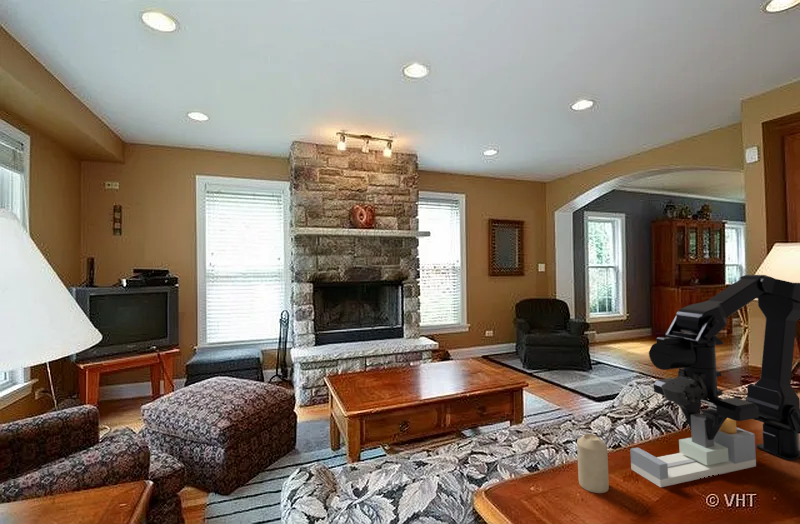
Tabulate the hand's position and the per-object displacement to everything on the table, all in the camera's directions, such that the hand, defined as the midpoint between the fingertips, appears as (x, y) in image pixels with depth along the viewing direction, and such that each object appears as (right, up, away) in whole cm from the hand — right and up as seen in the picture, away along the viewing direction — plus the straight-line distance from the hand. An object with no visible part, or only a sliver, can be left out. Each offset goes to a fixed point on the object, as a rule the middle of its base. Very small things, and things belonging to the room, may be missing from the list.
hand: (702, 436), depth 82 cm
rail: (-3, -7, -1) cm, 7 cm away
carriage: (0, -4, 0) cm, 4 cm away
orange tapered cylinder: (+7, -2, +2) cm, 7 cm away
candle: (-27, -8, -6) cm, 29 cm away
